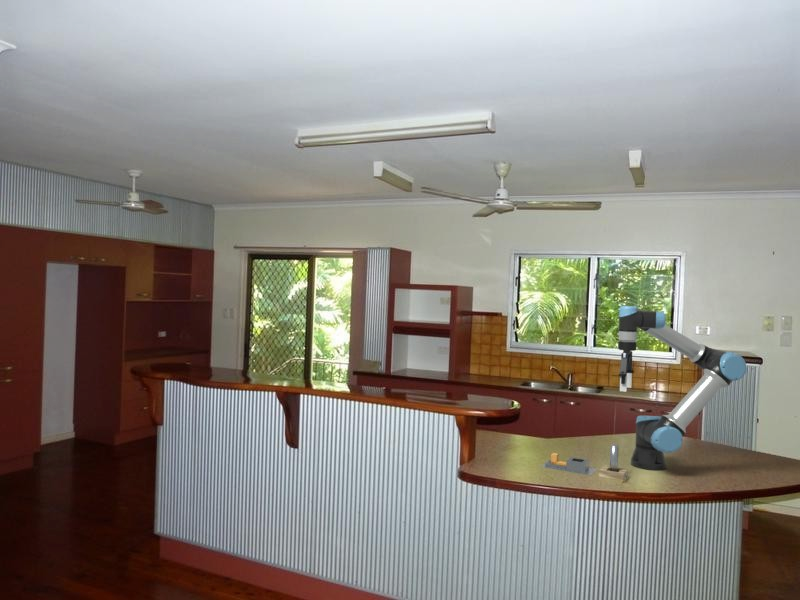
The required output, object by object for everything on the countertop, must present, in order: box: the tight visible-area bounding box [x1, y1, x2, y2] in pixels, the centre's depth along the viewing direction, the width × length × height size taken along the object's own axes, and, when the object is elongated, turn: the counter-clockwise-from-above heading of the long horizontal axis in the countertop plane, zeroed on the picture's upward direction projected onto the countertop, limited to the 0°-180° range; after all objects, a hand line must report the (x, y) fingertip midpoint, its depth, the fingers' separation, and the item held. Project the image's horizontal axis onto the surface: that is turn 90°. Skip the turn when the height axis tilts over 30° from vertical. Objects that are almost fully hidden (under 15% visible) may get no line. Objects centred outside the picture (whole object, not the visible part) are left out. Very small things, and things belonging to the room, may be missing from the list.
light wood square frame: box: [598, 465, 629, 484], centre depth 262 cm, size 10×10×4 cm
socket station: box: [539, 456, 597, 476], centre depth 271 cm, size 12×22×5 cm, turn 61°
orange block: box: [550, 452, 566, 466], centre depth 273 cm, size 3×8×5 cm, turn 61°
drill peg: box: [609, 443, 619, 472], centre depth 262 cm, size 3×3×14 cm
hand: (625, 389), depth 270 cm, fingers open, 13 cm apart
